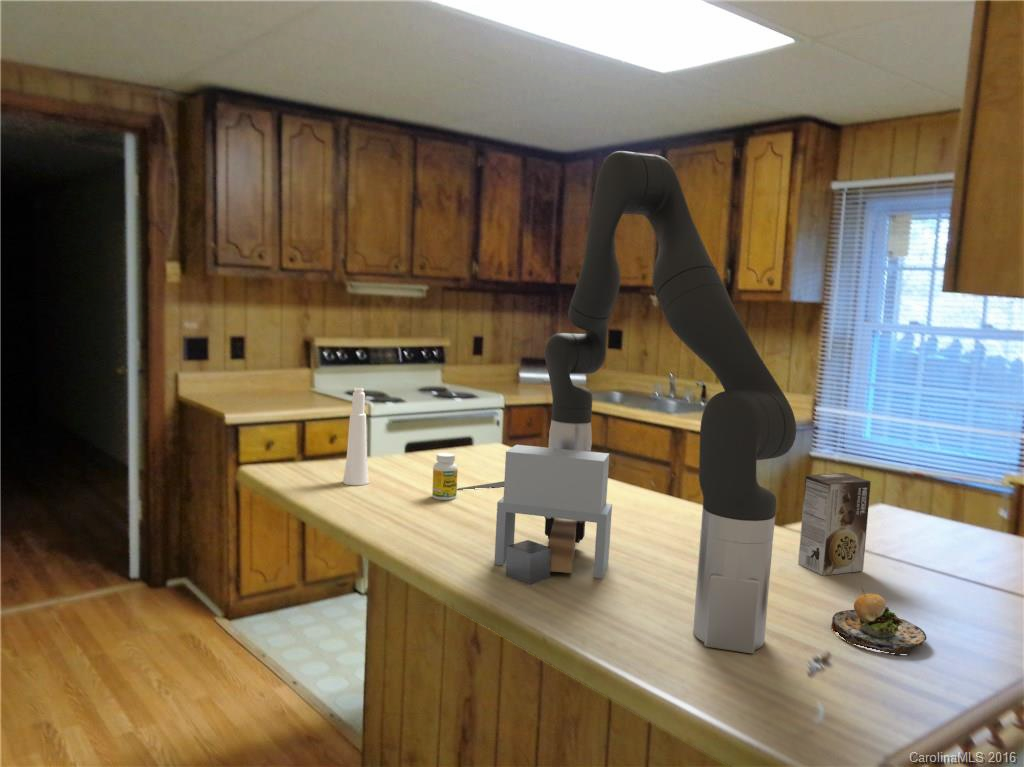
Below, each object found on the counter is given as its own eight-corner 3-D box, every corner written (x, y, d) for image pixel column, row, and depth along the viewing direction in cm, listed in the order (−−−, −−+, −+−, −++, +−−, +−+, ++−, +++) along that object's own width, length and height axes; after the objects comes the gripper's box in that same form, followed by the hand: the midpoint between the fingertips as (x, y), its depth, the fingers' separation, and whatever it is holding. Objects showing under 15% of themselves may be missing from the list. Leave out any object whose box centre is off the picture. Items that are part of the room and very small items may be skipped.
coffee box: (836, 560, 140) (844, 472, 138) (864, 572, 134) (873, 480, 132) (795, 563, 136) (804, 473, 135) (822, 576, 130) (831, 482, 129)
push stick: (571, 573, 123) (573, 545, 122) (546, 570, 123) (548, 543, 123) (576, 531, 147) (578, 508, 146) (555, 529, 147) (556, 506, 147)
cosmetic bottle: (346, 479, 182) (349, 386, 180) (371, 480, 182) (374, 387, 180) (339, 484, 176) (342, 389, 174) (365, 486, 176) (369, 390, 174)
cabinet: (602, 578, 124) (610, 461, 122) (494, 564, 128) (499, 451, 126) (608, 565, 130) (615, 454, 128) (505, 551, 135) (510, 444, 133)
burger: (924, 666, 98) (930, 609, 98) (825, 642, 104) (830, 589, 103) (926, 633, 109) (931, 582, 108) (836, 614, 115) (840, 565, 114)
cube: (528, 585, 119) (530, 553, 119) (505, 576, 123) (507, 545, 122) (549, 578, 123) (551, 547, 122) (526, 569, 126) (528, 539, 126)
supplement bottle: (446, 493, 174) (447, 451, 173) (461, 498, 170) (463, 455, 169) (427, 496, 170) (428, 453, 169) (442, 501, 166) (444, 457, 165)
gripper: (525, 445, 135) (520, 541, 137) (607, 453, 132) (601, 551, 134) (535, 439, 143) (530, 529, 144) (612, 446, 139) (606, 539, 141)
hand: (564, 539), depth 139 cm, fingers closed on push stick, 4 cm apart
